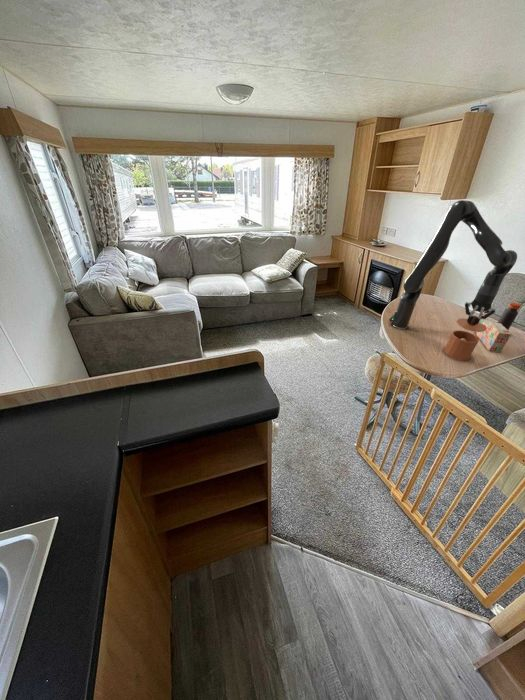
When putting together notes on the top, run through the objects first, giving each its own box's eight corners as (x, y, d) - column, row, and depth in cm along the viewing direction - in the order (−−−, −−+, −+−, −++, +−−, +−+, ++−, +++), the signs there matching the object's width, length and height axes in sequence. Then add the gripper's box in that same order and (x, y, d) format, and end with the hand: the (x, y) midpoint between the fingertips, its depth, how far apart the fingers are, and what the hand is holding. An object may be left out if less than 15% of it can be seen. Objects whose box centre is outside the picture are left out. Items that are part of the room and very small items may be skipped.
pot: (441, 354, 160) (450, 336, 154) (446, 345, 169) (454, 328, 162) (466, 363, 154) (477, 345, 147) (470, 353, 162) (480, 335, 156)
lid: (453, 326, 150) (458, 317, 147) (458, 317, 159) (462, 308, 156) (483, 335, 143) (489, 325, 140) (486, 325, 152) (492, 316, 149)
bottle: (506, 332, 184) (523, 304, 173) (504, 336, 180) (522, 307, 169) (493, 328, 188) (509, 300, 176) (491, 332, 184) (508, 304, 172)
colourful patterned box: (474, 332, 183) (483, 315, 176) (484, 333, 182) (494, 316, 175) (488, 350, 166) (499, 332, 159) (500, 352, 165) (512, 334, 158)
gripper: (505, 294, 140) (488, 325, 149) (472, 286, 147) (458, 316, 156) (503, 298, 135) (486, 330, 144) (470, 290, 142) (455, 321, 151)
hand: (471, 323), depth 150 cm, fingers closed on lid, 2 cm apart
